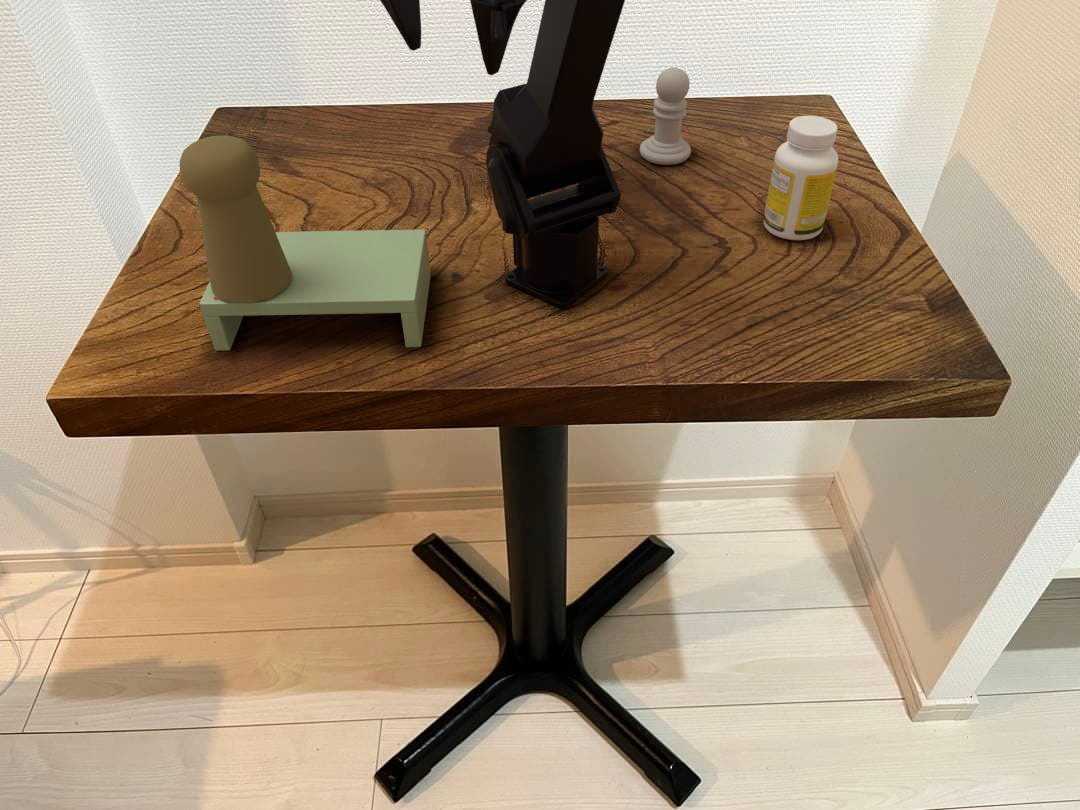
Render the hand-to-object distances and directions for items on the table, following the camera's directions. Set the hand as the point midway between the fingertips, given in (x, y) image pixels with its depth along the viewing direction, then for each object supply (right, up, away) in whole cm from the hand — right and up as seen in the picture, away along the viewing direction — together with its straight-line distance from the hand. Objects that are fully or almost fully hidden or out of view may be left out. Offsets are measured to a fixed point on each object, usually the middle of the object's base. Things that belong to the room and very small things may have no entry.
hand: (453, 61), depth 75 cm
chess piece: (+21, -4, +15) cm, 26 cm away
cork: (-14, -21, -10) cm, 27 cm away
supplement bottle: (+31, -14, +4) cm, 34 cm away
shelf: (-10, -22, -5) cm, 25 cm away
